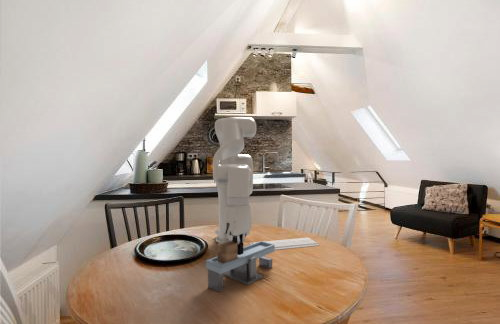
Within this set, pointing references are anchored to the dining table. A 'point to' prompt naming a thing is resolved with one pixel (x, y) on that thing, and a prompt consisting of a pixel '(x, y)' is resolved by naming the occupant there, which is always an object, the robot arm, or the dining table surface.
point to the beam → (241, 257)
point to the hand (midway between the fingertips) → (238, 253)
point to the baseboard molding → (292, 243)
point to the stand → (239, 273)
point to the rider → (227, 251)
